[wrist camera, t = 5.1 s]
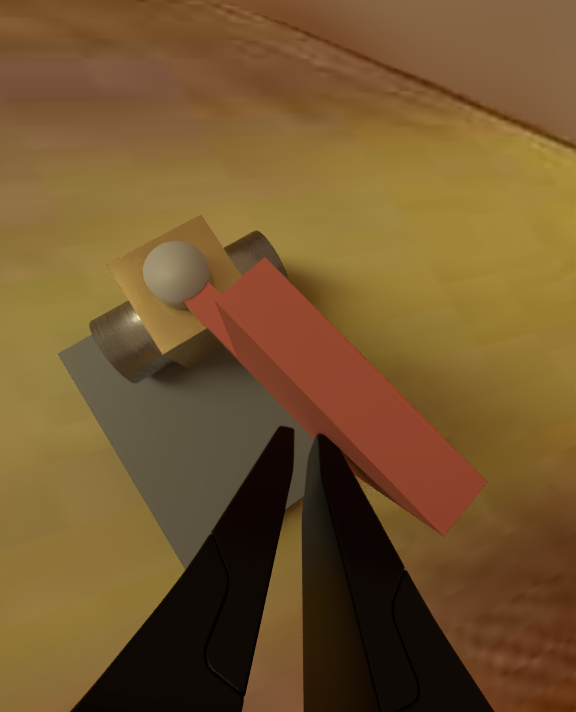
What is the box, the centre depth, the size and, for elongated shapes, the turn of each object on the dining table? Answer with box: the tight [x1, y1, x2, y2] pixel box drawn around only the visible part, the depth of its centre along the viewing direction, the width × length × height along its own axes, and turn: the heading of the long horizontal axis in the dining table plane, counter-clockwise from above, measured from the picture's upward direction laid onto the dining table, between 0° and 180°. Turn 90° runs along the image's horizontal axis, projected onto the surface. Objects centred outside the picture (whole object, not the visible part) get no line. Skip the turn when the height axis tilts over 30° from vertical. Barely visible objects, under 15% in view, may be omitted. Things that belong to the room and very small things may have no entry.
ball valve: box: [89, 215, 289, 384], centre depth 16 cm, size 4×9×5 cm, turn 124°
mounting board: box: [58, 335, 314, 570], centre depth 18 cm, size 14×12×1 cm
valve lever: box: [143, 241, 487, 536], centre depth 9 cm, size 11×2×8 cm, turn 44°
